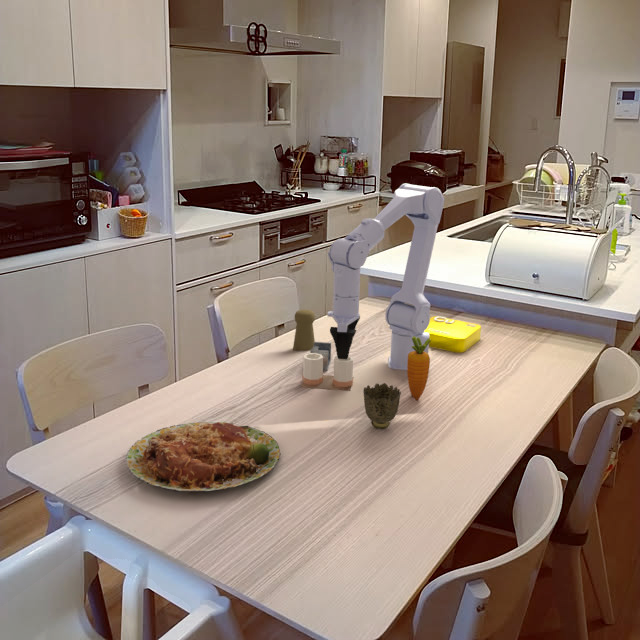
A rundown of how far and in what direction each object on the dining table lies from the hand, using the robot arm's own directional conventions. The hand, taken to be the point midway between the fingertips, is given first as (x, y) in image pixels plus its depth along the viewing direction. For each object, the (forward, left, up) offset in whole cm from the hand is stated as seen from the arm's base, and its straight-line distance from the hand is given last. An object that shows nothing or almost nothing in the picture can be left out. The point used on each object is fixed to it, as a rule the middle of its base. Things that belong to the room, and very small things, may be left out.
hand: (344, 352), depth 159 cm
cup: (-9, +18, -9) cm, 22 cm away
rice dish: (+22, +37, -9) cm, 44 cm away
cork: (+13, -22, -9) cm, 27 cm away
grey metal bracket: (+3, -10, -9) cm, 14 cm away
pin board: (+4, 0, -9) cm, 9 cm away
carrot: (-16, +4, -9) cm, 19 cm away
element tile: (-24, -38, -9) cm, 46 cm away
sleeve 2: (0, 0, -8) cm, 8 cm away
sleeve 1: (+7, 0, -8) cm, 10 cm away
